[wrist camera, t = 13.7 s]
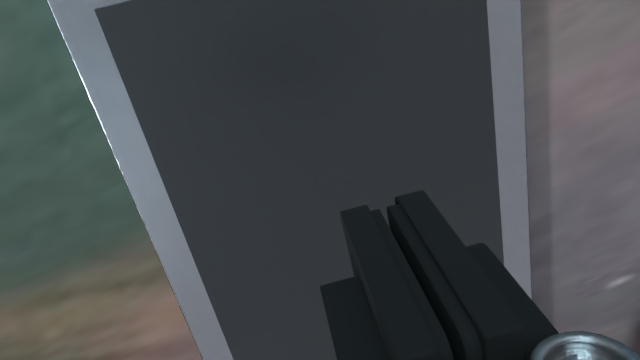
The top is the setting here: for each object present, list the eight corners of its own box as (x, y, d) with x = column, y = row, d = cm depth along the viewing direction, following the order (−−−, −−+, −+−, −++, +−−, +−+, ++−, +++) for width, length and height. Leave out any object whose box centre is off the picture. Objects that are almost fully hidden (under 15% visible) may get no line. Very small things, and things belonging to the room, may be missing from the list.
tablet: (249, 447, 25) (250, 471, 24) (48, -28, 15) (33, -25, 14) (523, 370, 26) (537, 390, 24) (497, -136, 16) (518, -142, 15)
